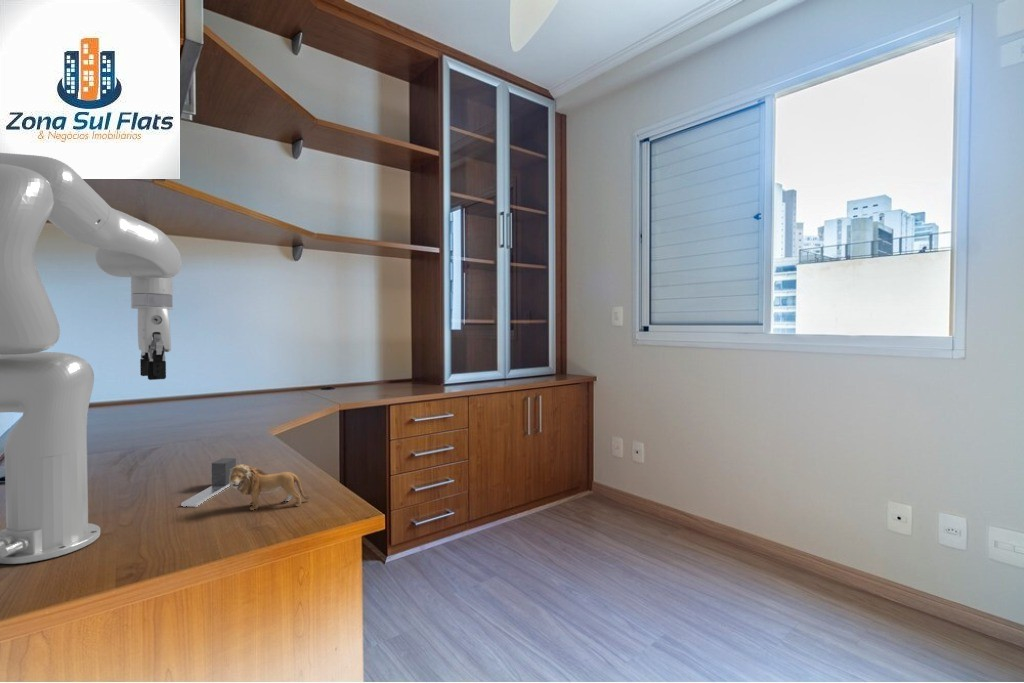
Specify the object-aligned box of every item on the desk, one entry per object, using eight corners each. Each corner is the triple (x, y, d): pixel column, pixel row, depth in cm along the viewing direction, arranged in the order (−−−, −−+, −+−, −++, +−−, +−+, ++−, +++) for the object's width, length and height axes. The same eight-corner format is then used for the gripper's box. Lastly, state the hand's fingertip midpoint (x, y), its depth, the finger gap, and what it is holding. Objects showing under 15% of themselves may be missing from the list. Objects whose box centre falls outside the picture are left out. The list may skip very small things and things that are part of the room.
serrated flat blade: (222, 484, 108) (222, 458, 108) (235, 484, 108) (235, 458, 108) (181, 507, 94) (181, 478, 94) (196, 507, 94) (196, 478, 94)
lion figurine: (226, 516, 90) (226, 469, 90) (230, 506, 95) (230, 462, 95) (310, 505, 96) (310, 461, 96) (310, 496, 101) (310, 455, 101)
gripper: (180, 302, 105) (180, 379, 105) (164, 304, 117) (165, 373, 117) (137, 300, 99) (138, 382, 100) (125, 302, 111) (126, 375, 112)
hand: (152, 377), depth 109 cm, fingers open, 9 cm apart
